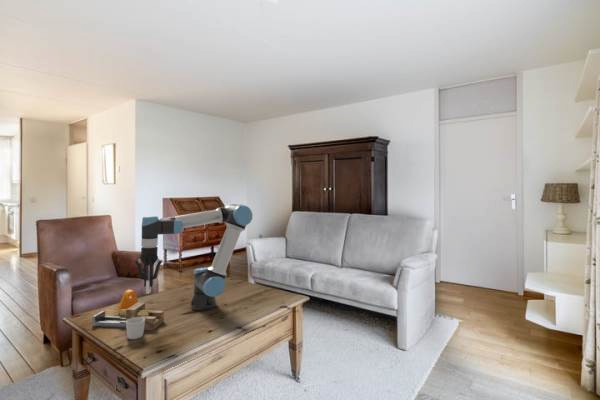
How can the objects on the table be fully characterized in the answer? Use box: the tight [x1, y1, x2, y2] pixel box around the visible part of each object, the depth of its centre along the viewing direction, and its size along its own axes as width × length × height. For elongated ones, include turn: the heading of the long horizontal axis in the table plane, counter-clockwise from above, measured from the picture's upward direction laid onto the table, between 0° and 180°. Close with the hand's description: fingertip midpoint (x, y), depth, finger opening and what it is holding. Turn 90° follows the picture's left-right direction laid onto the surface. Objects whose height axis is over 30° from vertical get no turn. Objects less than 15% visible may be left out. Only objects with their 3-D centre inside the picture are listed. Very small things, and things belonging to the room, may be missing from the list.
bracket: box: [117, 289, 139, 313], centre depth 182 cm, size 11×7×12 cm, turn 141°
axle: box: [118, 309, 151, 319], centre depth 165 cm, size 14×4×4 cm, turn 89°
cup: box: [125, 317, 145, 340], centre depth 152 cm, size 11×8×8 cm
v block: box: [91, 310, 126, 329], centre depth 165 cm, size 17×8×5 cm, turn 88°
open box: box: [126, 301, 165, 331], centre depth 165 cm, size 14×11×10 cm
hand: (148, 292), depth 164 cm, fingers closed
